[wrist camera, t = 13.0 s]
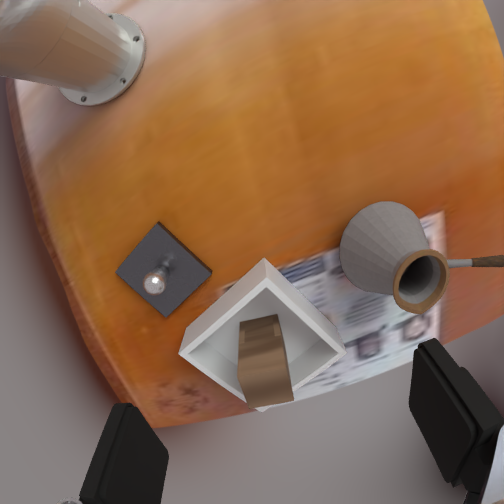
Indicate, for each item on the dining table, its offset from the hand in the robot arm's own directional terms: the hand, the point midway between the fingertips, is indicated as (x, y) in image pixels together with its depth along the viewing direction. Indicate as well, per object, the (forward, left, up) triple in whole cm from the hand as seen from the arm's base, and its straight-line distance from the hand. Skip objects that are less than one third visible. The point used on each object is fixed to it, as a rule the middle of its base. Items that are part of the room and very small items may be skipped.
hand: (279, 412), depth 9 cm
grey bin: (+12, -11, -30) cm, 34 cm away
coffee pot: (+16, +12, -30) cm, 36 cm away
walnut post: (+12, -11, -29) cm, 33 cm away
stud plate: (-3, -14, -30) cm, 33 cm away
